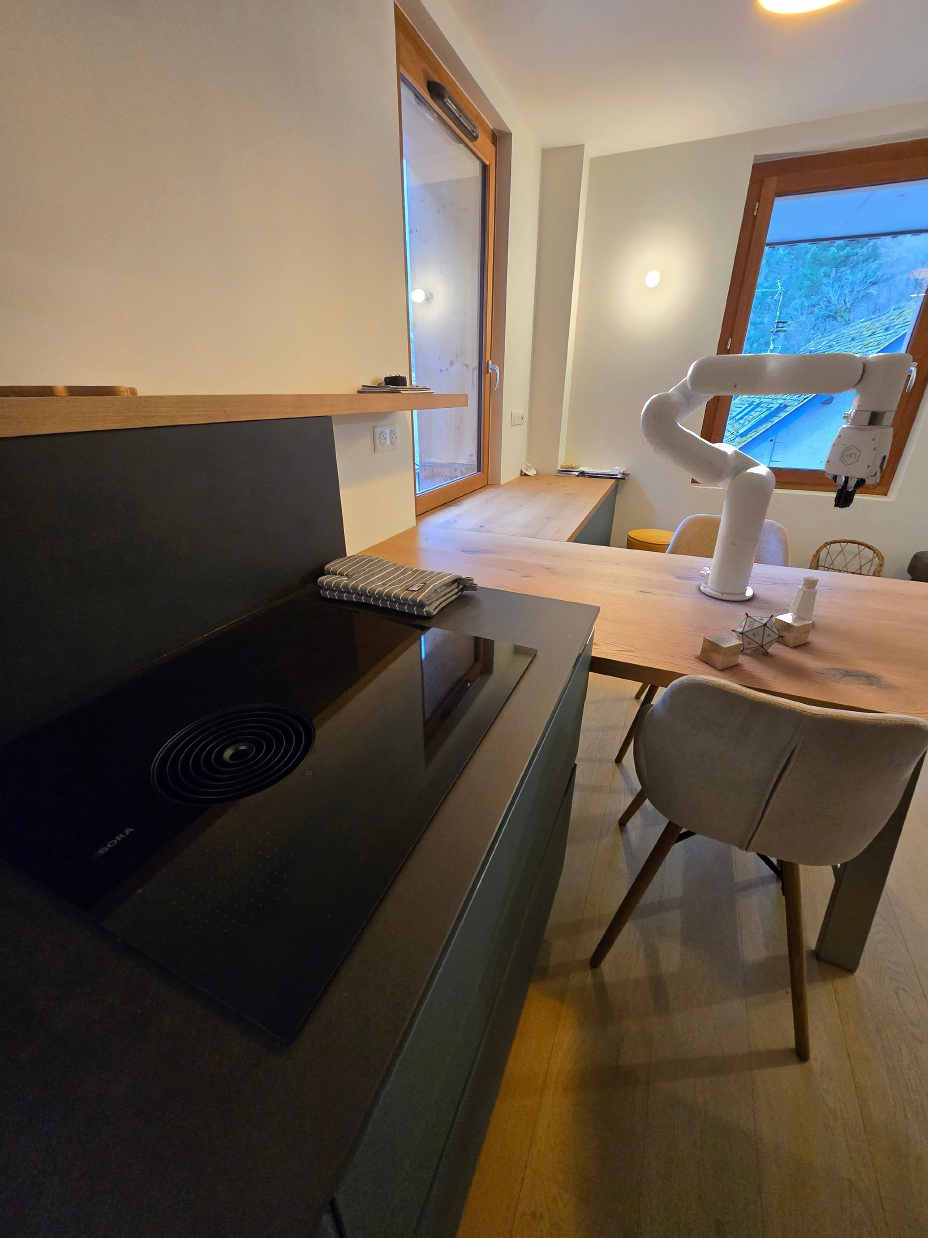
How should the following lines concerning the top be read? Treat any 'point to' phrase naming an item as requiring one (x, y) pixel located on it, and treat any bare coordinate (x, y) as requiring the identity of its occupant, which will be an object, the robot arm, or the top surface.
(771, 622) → the clear faceted polyhedron
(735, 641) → the maple block
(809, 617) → the salt shaker
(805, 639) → the maple block
